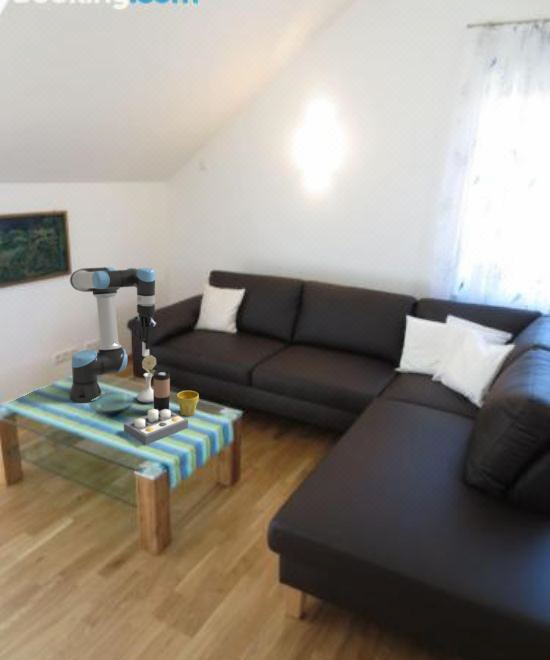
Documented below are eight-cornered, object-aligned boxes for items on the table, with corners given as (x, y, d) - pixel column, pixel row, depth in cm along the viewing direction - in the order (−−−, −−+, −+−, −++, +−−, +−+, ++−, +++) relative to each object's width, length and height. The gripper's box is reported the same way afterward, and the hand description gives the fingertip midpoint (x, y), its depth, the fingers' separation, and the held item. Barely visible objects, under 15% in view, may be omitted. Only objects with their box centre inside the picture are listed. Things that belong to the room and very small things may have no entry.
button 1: (132, 430, 218) (132, 420, 217) (141, 427, 222) (141, 417, 220) (138, 434, 215) (138, 423, 214) (147, 430, 219) (147, 420, 217)
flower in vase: (132, 398, 252) (132, 352, 246) (152, 393, 260) (152, 348, 253) (145, 407, 243) (145, 359, 237) (165, 402, 251) (166, 355, 244)
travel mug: (155, 415, 236) (155, 376, 231) (151, 408, 242) (151, 370, 237) (171, 413, 240) (171, 374, 234) (166, 406, 246) (167, 369, 241)
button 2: (145, 421, 223) (145, 410, 221) (154, 418, 226) (154, 408, 225) (152, 424, 220) (152, 414, 219) (160, 421, 223) (160, 411, 222)
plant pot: (173, 415, 237) (173, 396, 235) (182, 407, 247) (182, 389, 244) (193, 419, 235) (193, 400, 232) (201, 410, 245) (202, 392, 242)
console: (123, 431, 219) (123, 423, 218) (165, 416, 236) (165, 408, 235) (145, 445, 209) (145, 436, 208) (187, 428, 226) (188, 420, 225)
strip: (139, 431, 212) (139, 429, 212) (178, 416, 228) (178, 415, 228) (145, 434, 209) (145, 433, 209) (184, 419, 225) (184, 418, 225)
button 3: (158, 421, 229) (158, 411, 227) (166, 418, 232) (166, 408, 231) (164, 424, 226) (164, 414, 224) (172, 421, 229) (172, 411, 228)
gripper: (129, 302, 215) (130, 353, 222) (147, 308, 208) (147, 361, 214) (144, 300, 221) (144, 350, 228) (162, 305, 213) (161, 357, 220)
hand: (145, 355), depth 221 cm, fingers closed
